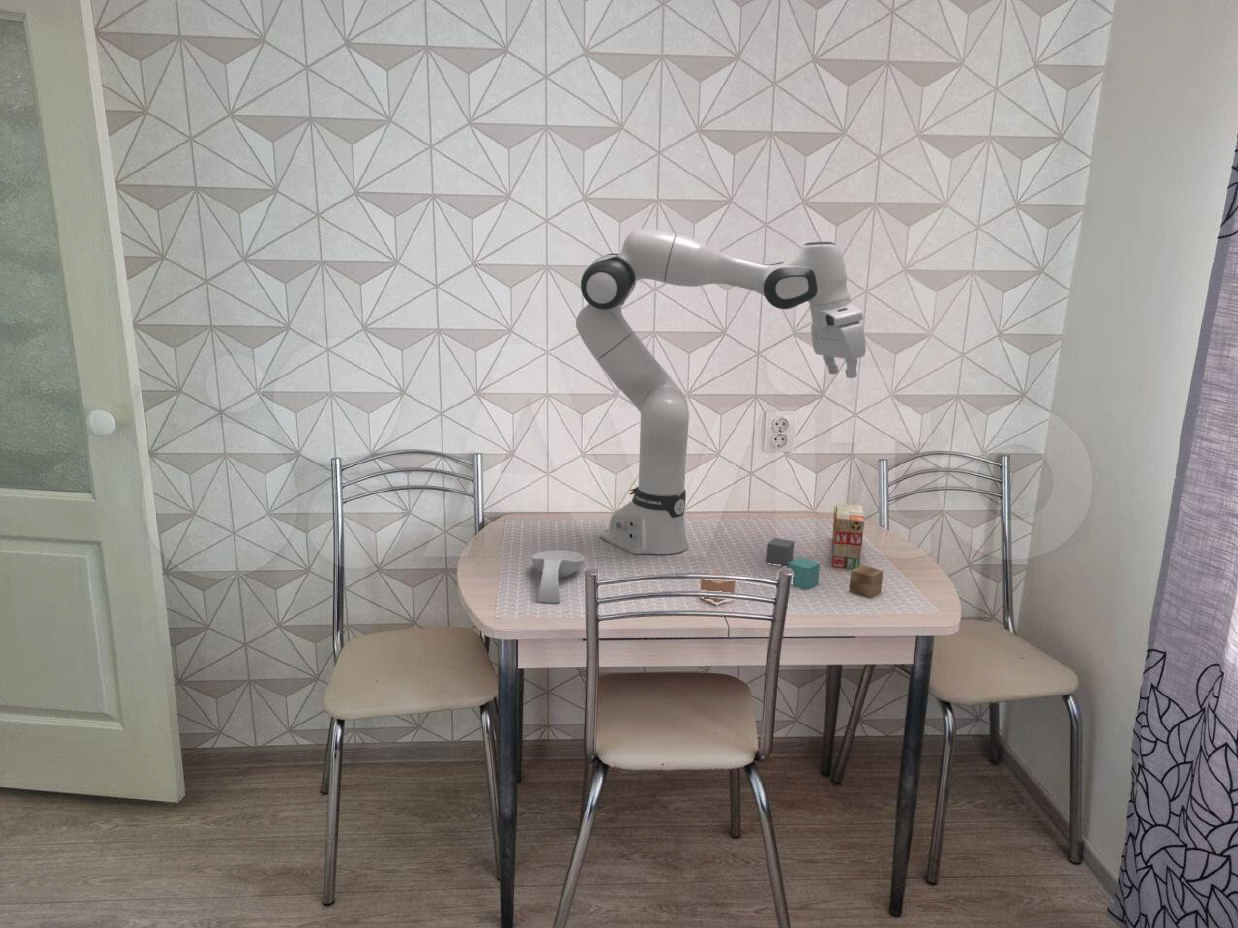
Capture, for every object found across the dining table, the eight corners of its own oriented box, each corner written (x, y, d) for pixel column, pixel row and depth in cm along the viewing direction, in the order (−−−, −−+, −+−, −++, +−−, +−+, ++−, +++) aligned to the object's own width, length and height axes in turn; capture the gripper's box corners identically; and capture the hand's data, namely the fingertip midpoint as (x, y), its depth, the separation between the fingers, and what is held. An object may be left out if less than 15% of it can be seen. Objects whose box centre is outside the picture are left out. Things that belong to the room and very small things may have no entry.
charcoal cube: (765, 563, 210) (767, 543, 209) (772, 557, 215) (774, 537, 213) (786, 567, 208) (788, 547, 207) (792, 561, 212) (794, 541, 211)
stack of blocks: (831, 539, 229) (835, 492, 226) (856, 541, 228) (861, 495, 225) (831, 567, 209) (836, 517, 206) (859, 570, 208) (864, 520, 205)
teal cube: (786, 583, 198) (788, 562, 197) (798, 578, 202) (800, 557, 201) (806, 590, 195) (808, 568, 194) (818, 584, 199) (820, 563, 197)
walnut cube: (849, 592, 195) (851, 570, 194) (860, 586, 199) (862, 564, 197) (870, 598, 192) (872, 576, 190) (881, 592, 195) (883, 570, 194)
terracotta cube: (700, 598, 189) (701, 575, 188) (717, 593, 192) (718, 571, 191) (716, 606, 185) (718, 583, 184) (733, 600, 188) (735, 578, 187)
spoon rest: (534, 562, 206) (534, 533, 205) (585, 564, 206) (586, 535, 204) (521, 603, 183) (521, 570, 182) (579, 605, 183) (579, 572, 182)
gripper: (800, 317, 207) (811, 375, 210) (838, 319, 188) (849, 383, 191) (826, 310, 208) (836, 368, 211) (865, 312, 188) (876, 376, 192)
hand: (842, 375), depth 201 cm, fingers open, 8 cm apart
